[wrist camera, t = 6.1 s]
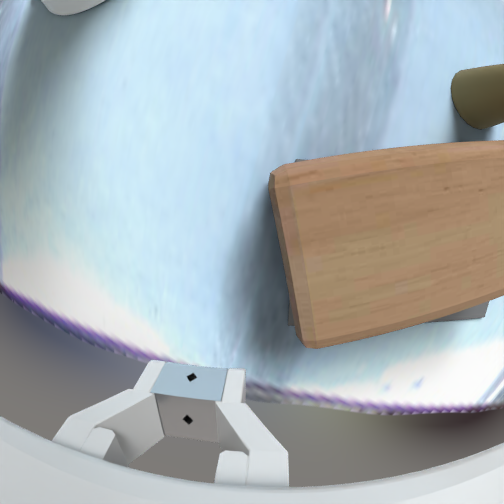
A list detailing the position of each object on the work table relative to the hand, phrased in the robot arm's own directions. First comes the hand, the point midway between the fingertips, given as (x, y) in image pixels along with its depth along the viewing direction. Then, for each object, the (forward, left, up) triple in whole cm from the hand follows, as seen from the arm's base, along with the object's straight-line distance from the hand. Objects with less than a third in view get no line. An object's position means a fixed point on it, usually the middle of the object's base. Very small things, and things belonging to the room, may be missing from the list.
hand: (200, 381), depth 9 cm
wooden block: (-1, +3, -11) cm, 12 cm away
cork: (-15, +21, -17) cm, 31 cm away
